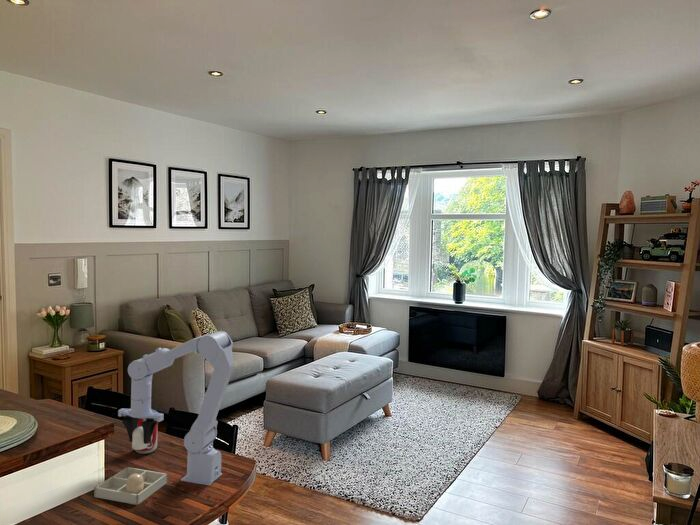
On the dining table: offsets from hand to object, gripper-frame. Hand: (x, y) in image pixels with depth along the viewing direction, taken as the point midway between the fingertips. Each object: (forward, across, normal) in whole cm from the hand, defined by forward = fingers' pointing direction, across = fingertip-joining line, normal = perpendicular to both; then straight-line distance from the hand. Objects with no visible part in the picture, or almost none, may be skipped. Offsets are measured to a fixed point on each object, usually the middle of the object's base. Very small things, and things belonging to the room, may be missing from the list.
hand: (140, 441), depth 156 cm
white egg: (+2, 0, 0) cm, 2 cm away
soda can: (+9, +7, -13) cm, 17 cm away
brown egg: (+8, -10, +15) cm, 20 cm away
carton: (+9, -6, +12) cm, 16 cm away
